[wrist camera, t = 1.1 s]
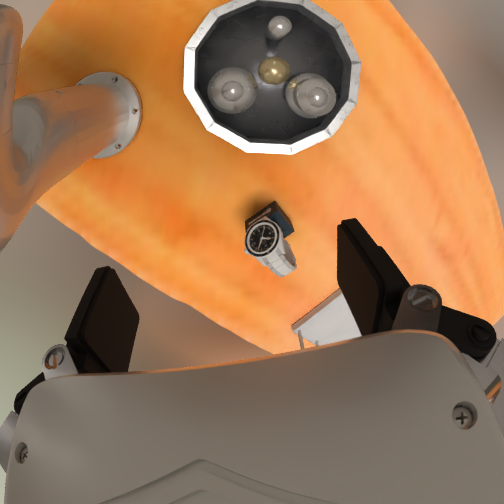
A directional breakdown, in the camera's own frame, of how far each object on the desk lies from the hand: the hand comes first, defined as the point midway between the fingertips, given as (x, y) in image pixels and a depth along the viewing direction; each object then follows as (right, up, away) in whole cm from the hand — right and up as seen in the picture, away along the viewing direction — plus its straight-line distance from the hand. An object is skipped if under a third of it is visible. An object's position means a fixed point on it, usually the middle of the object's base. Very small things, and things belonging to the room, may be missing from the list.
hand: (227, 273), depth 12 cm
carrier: (+3, +24, +20) cm, 31 cm away
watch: (+3, +6, +33) cm, 33 cm away
